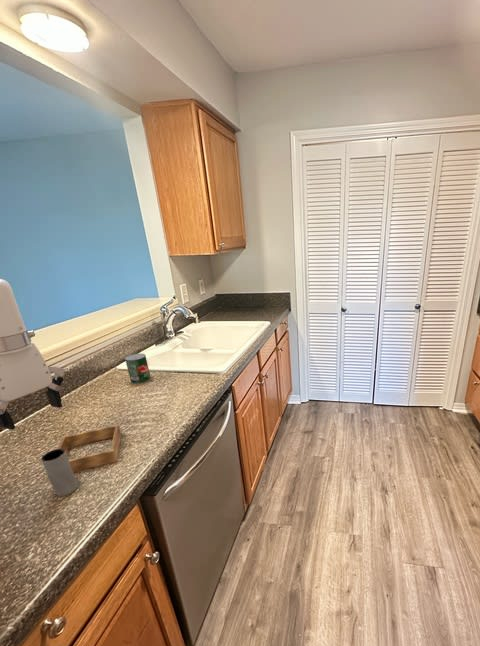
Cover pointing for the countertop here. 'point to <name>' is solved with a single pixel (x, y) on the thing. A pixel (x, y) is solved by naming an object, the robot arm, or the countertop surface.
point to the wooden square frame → (91, 437)
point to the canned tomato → (138, 368)
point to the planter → (59, 472)
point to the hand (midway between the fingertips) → (34, 416)
